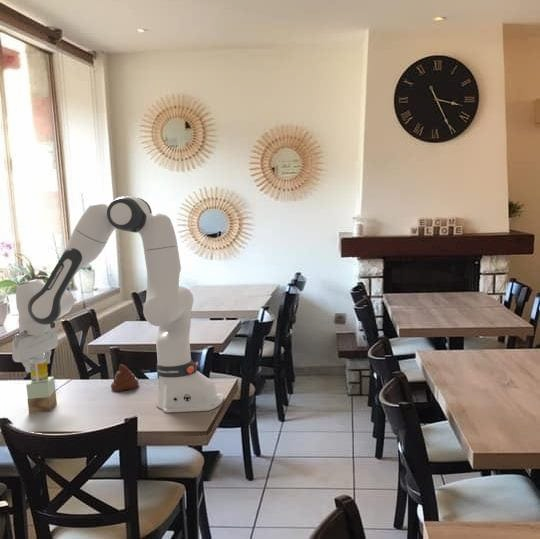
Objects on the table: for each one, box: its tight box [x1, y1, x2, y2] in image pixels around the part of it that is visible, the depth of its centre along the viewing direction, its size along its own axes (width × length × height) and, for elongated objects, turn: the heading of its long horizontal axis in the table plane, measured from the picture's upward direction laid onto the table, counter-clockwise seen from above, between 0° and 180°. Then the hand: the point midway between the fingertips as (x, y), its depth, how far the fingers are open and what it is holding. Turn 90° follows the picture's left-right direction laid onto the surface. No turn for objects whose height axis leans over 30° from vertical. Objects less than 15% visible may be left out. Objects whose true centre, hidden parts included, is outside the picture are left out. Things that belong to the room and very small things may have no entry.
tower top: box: [25, 376, 56, 399], centre depth 197 cm, size 7×7×5 cm
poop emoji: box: [110, 363, 140, 392], centre depth 215 cm, size 10×8×9 cm
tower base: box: [27, 390, 58, 414], centre depth 198 cm, size 7×7×5 cm
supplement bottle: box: [29, 353, 49, 383], centre depth 196 cm, size 5×5×10 cm
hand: (38, 367), depth 196 cm, fingers open, 8 cm apart
